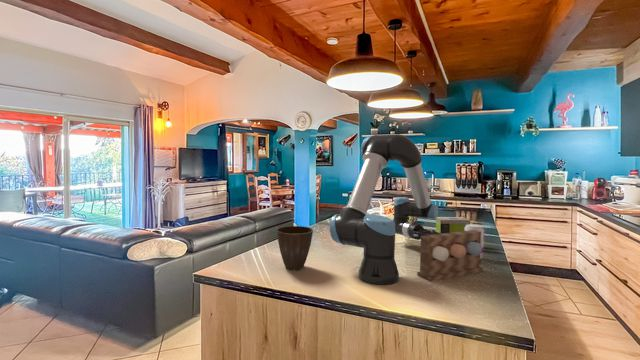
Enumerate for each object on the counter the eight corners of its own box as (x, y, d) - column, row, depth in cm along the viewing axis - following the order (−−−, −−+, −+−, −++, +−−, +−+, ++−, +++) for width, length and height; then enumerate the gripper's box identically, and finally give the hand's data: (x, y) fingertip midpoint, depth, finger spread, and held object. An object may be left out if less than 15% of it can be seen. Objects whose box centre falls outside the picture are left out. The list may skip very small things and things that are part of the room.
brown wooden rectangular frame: (430, 281, 124) (431, 239, 123) (417, 275, 130) (418, 235, 129) (482, 271, 136) (484, 232, 135) (468, 266, 142) (469, 229, 141)
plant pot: (317, 263, 144) (317, 227, 143) (306, 275, 130) (306, 234, 129) (284, 260, 148) (284, 225, 147) (270, 271, 134) (270, 232, 133)
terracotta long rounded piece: (456, 259, 127) (456, 246, 127) (438, 253, 135) (438, 240, 135) (465, 257, 129) (466, 244, 129) (447, 251, 137) (448, 239, 137)
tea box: (463, 243, 181) (464, 216, 180) (470, 248, 171) (471, 220, 170) (435, 242, 183) (435, 216, 182) (439, 247, 173) (440, 219, 172)
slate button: (472, 256, 131) (473, 243, 131) (454, 250, 139) (455, 238, 139) (481, 254, 133) (482, 242, 133) (463, 249, 141) (463, 237, 141)
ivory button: (438, 262, 123) (438, 248, 123) (421, 255, 131) (421, 243, 131) (448, 260, 125) (448, 247, 125) (430, 254, 134) (431, 241, 133)
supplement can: (477, 255, 160) (478, 224, 159) (486, 260, 151) (487, 227, 150) (460, 255, 159) (461, 223, 158) (468, 260, 151) (470, 227, 150)
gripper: (423, 237, 169) (461, 248, 148) (402, 239, 164) (439, 251, 142) (423, 222, 169) (461, 231, 148) (403, 224, 163) (439, 234, 142)
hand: (450, 241), depth 145 cm, fingers closed
